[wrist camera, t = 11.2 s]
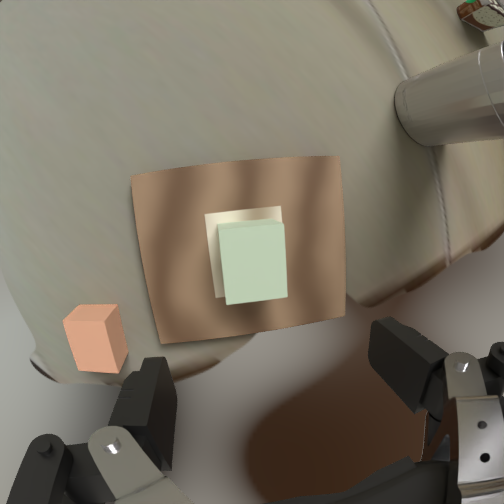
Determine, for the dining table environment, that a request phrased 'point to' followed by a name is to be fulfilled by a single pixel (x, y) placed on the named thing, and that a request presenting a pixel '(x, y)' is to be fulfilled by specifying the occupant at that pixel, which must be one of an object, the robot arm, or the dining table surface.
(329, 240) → the base board
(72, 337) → the terracotta brick
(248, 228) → the sage green brick
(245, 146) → the dining table surface
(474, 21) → the food container
